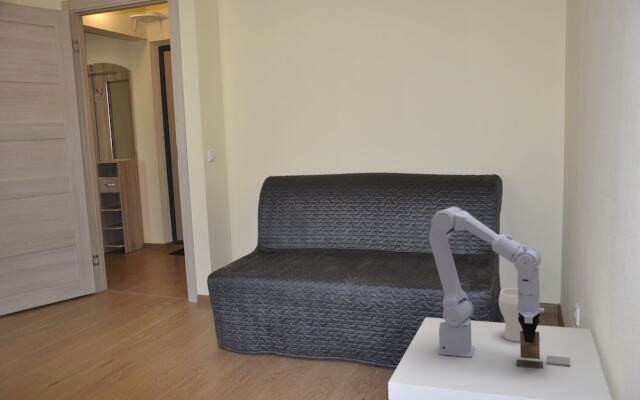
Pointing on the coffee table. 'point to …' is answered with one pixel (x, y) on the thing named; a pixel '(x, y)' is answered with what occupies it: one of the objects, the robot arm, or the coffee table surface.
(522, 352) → the brown wooden block
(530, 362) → the pad
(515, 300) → the cream vase
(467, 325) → the robot arm
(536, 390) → the coffee table surface
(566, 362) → the tile
